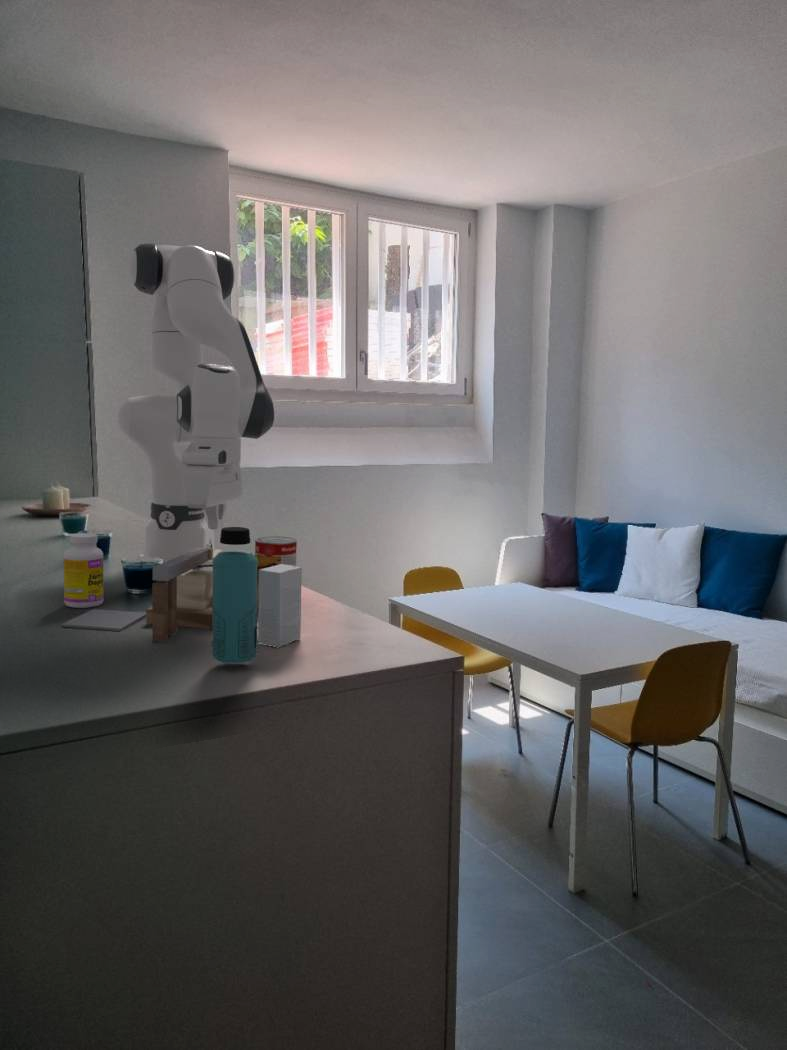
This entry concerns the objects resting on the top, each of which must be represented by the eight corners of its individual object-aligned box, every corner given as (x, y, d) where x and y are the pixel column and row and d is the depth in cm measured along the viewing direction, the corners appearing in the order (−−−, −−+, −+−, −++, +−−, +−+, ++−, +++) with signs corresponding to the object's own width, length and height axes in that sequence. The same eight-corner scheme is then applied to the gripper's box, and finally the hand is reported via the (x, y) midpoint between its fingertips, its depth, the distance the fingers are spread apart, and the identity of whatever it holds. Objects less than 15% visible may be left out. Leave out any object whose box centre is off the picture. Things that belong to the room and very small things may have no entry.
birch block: (186, 613, 132) (186, 569, 131) (212, 615, 132) (213, 571, 131) (174, 620, 127) (174, 574, 126) (202, 622, 127) (202, 576, 126)
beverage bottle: (261, 672, 103) (264, 530, 101) (212, 675, 101) (214, 531, 98) (253, 657, 109) (256, 523, 107) (207, 660, 107) (209, 524, 104)
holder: (175, 606, 136) (175, 557, 135) (238, 611, 135) (239, 561, 134) (120, 639, 115) (120, 581, 114) (194, 644, 114) (194, 586, 113)
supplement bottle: (89, 610, 131) (88, 539, 129) (56, 607, 132) (54, 536, 131) (111, 601, 138) (110, 533, 136) (79, 598, 139) (78, 531, 137)
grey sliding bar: (197, 558, 133) (197, 547, 133) (213, 559, 133) (213, 548, 133) (150, 580, 115) (150, 567, 114) (169, 581, 114) (169, 568, 114)
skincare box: (279, 635, 121) (281, 563, 120) (301, 639, 119) (303, 566, 118) (256, 644, 116) (257, 569, 114) (278, 648, 114) (280, 572, 112)
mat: (93, 611, 131) (93, 609, 130) (147, 615, 129) (147, 613, 129) (62, 626, 121) (62, 624, 121) (120, 631, 120) (120, 628, 120)
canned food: (266, 593, 149) (268, 535, 148) (301, 598, 147) (303, 538, 145) (246, 602, 142) (247, 540, 140) (283, 607, 139) (284, 544, 138)
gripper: (219, 451, 146) (218, 521, 148) (177, 454, 126) (177, 534, 128) (250, 453, 145) (249, 522, 147) (213, 455, 125) (212, 536, 127)
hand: (215, 528), depth 137 cm, fingers closed
